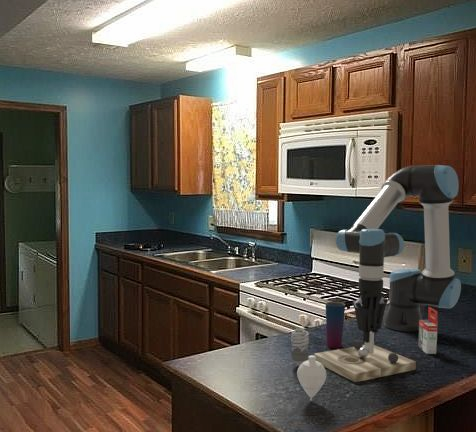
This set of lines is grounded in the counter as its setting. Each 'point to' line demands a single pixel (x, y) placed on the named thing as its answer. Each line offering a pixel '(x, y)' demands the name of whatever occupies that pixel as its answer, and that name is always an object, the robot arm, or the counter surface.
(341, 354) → the board
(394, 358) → the black rubber ball
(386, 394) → the counter surface
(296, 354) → the light bulb
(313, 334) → the counter surface
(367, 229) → the robot arm
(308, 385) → the spinning top
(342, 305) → the cup
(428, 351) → the ink box
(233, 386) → the counter surface
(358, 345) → the black rubber ball
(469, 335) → the counter surface
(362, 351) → the steel ball
